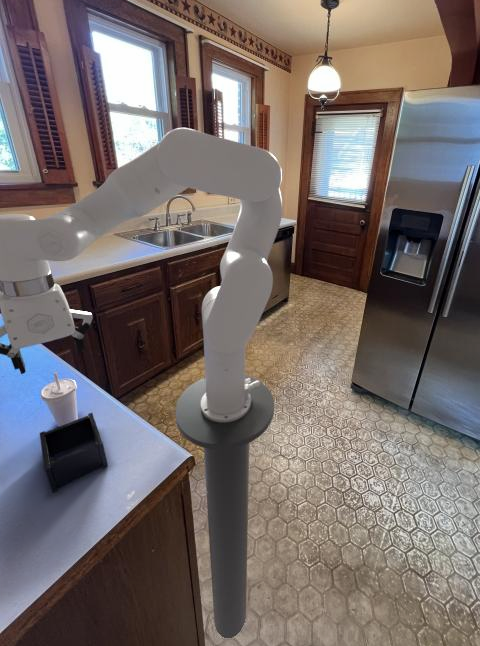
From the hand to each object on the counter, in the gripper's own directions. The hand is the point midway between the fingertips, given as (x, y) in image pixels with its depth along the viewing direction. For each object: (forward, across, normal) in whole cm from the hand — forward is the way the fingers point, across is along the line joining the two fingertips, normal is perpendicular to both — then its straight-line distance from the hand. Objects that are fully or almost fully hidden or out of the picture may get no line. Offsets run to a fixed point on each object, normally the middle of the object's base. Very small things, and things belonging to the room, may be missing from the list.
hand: (52, 361), depth 64 cm
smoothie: (+17, -1, 0) cm, 17 cm away
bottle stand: (+17, -1, -12) cm, 20 cm away
